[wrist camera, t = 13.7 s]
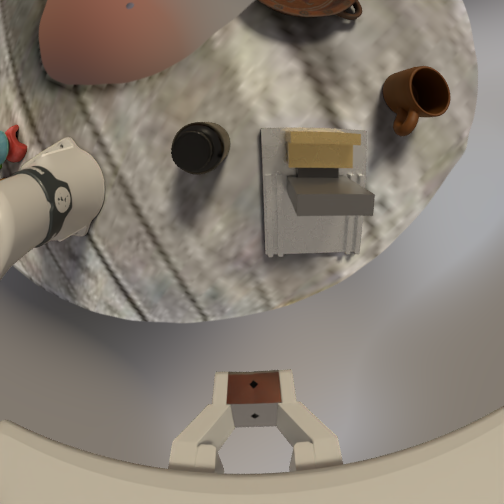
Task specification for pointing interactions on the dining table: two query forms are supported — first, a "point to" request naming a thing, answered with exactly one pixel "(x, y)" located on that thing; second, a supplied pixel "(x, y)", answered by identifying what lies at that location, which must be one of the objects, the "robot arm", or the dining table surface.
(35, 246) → the robot arm
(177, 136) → the supplement bottle
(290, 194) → the gray rectangular block
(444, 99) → the mug
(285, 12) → the dish
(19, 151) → the wooden stacking toy
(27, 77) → the dining table surface
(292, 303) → the dining table surface
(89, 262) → the dining table surface
